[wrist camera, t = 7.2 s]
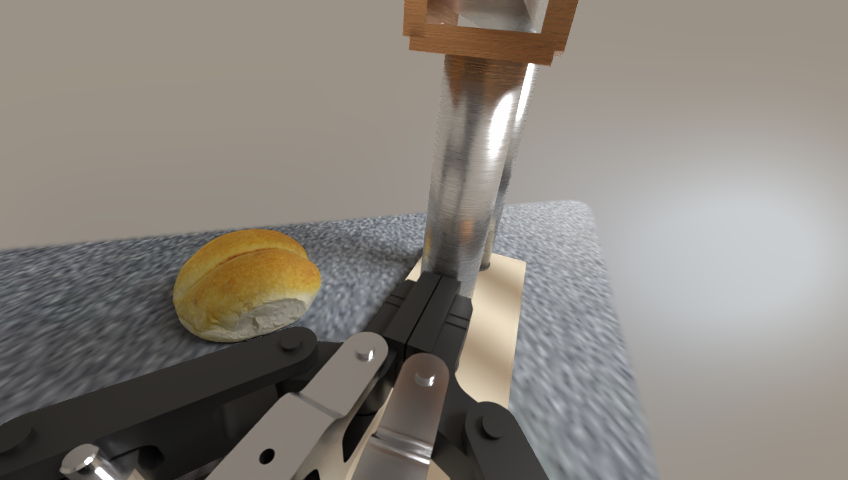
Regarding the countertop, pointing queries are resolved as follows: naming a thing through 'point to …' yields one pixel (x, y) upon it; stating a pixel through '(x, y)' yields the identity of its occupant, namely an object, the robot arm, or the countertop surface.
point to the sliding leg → (474, 124)
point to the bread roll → (245, 286)
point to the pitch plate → (484, 339)
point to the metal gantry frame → (523, 11)
